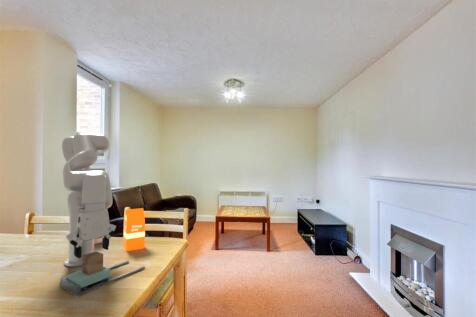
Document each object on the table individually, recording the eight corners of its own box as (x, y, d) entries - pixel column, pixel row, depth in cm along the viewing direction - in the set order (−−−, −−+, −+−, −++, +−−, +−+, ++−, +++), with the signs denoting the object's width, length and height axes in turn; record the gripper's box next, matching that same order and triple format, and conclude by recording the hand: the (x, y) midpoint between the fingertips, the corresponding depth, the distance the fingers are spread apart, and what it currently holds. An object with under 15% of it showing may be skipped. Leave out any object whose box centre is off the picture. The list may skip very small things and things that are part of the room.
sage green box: (65, 286, 87) (66, 274, 87) (97, 274, 96) (97, 264, 96) (78, 293, 82) (78, 281, 82) (110, 280, 91) (110, 269, 92)
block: (81, 271, 90) (82, 255, 90) (95, 267, 94) (96, 251, 94) (88, 275, 87) (89, 258, 87) (102, 270, 91) (103, 253, 91)
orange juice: (144, 248, 127) (145, 209, 128) (126, 251, 122) (126, 210, 123) (141, 244, 134) (141, 207, 134) (123, 247, 129) (124, 208, 129)
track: (60, 286, 87) (60, 278, 87) (127, 262, 109) (127, 255, 109) (76, 296, 80) (76, 287, 80) (144, 268, 102) (144, 261, 102)
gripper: (72, 212, 82) (71, 263, 82) (121, 204, 96) (120, 248, 97) (62, 209, 86) (60, 258, 86) (110, 202, 100) (109, 244, 101)
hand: (92, 252), depth 91 cm, fingers open, 9 cm apart
